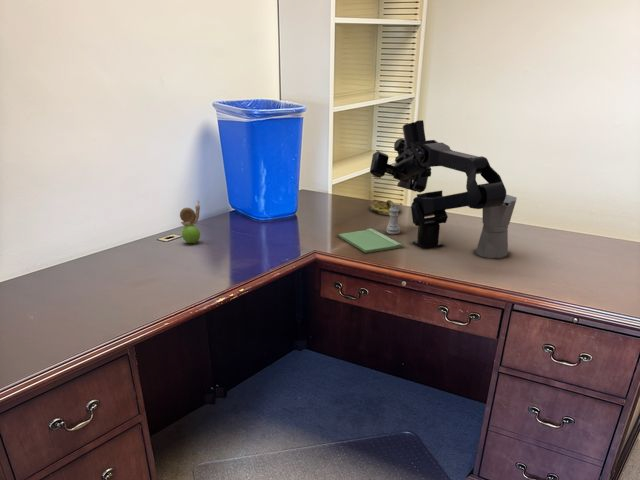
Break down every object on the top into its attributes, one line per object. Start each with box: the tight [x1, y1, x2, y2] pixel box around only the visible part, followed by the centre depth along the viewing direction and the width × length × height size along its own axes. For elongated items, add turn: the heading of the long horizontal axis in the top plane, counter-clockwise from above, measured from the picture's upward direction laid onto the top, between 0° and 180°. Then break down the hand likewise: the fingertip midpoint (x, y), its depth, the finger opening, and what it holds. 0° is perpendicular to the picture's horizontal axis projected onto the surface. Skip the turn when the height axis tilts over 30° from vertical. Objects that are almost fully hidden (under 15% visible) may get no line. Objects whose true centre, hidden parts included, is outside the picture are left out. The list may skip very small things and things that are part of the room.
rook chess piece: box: [386, 204, 401, 236], centre depth 184 cm, size 4×4×8 cm
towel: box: [338, 227, 403, 254], centre depth 179 cm, size 18×12×1 cm, turn 24°
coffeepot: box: [475, 194, 518, 259], centre depth 164 cm, size 15×9×18 cm, turn 4°
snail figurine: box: [179, 200, 201, 244], centre depth 177 cm, size 5×6×12 cm
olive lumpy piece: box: [370, 199, 400, 216], centre depth 208 cm, size 9×5×15 cm
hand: (385, 179), depth 186 cm, fingers open, 9 cm apart
